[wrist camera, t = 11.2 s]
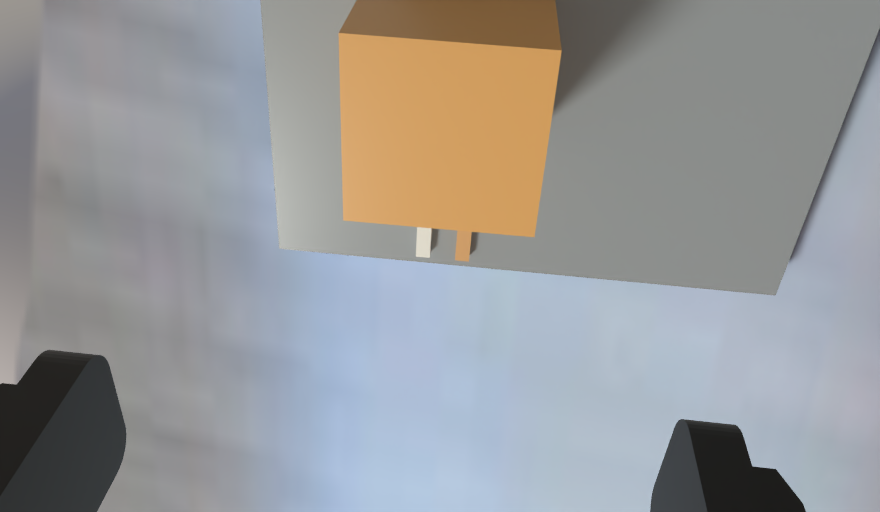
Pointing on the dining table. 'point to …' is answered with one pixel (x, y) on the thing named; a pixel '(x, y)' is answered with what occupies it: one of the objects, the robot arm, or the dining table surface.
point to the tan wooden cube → (447, 112)
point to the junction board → (612, 140)
